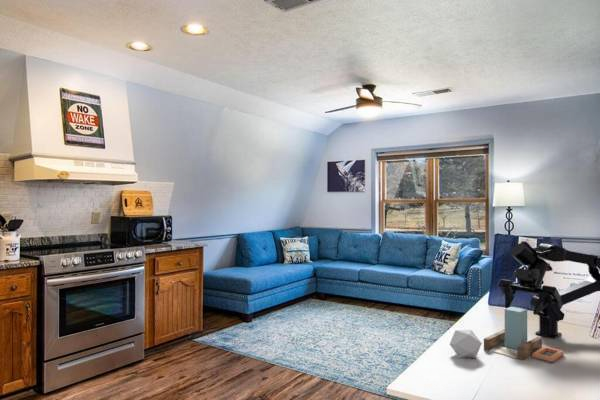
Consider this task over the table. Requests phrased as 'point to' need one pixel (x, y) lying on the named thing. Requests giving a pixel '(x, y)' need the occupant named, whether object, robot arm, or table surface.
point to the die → (465, 343)
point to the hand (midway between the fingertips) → (519, 311)
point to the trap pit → (548, 354)
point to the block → (515, 327)
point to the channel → (521, 352)
